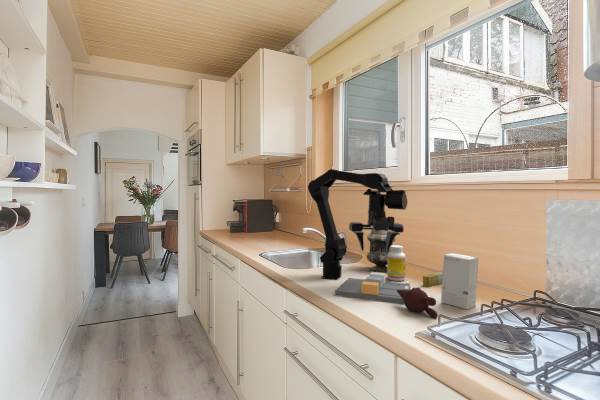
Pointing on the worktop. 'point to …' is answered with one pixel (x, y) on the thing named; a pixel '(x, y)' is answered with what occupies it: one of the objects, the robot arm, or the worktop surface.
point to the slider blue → (375, 280)
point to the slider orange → (370, 288)
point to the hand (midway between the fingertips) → (375, 250)
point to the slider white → (378, 275)
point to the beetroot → (418, 301)
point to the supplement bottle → (396, 263)
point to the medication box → (433, 279)
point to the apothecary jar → (378, 251)
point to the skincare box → (459, 280)
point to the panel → (385, 294)
